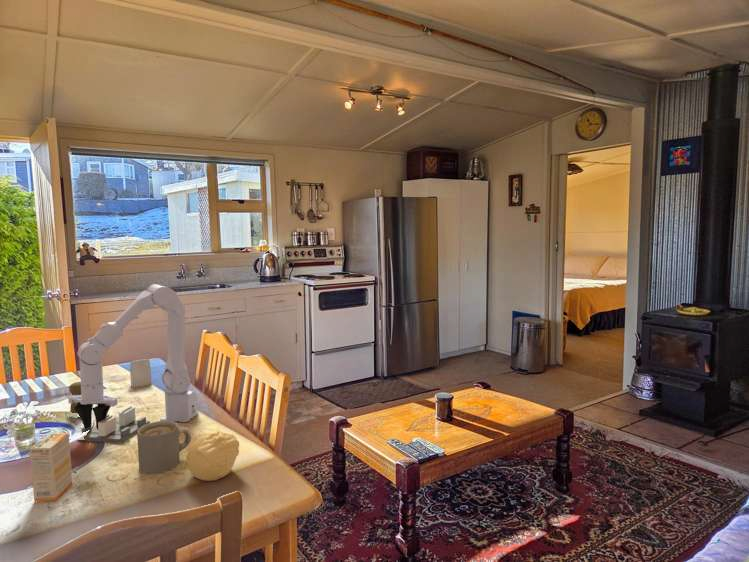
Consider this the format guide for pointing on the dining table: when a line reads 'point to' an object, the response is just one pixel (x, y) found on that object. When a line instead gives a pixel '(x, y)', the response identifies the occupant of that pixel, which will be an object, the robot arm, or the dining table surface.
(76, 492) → the dining table surface
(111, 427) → the near fader cap
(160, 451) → the coffee mug
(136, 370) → the beige rectangular box
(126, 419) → the far fader cap
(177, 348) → the robot arm
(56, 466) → the supplement box
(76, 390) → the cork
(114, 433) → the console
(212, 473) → the sculpture
